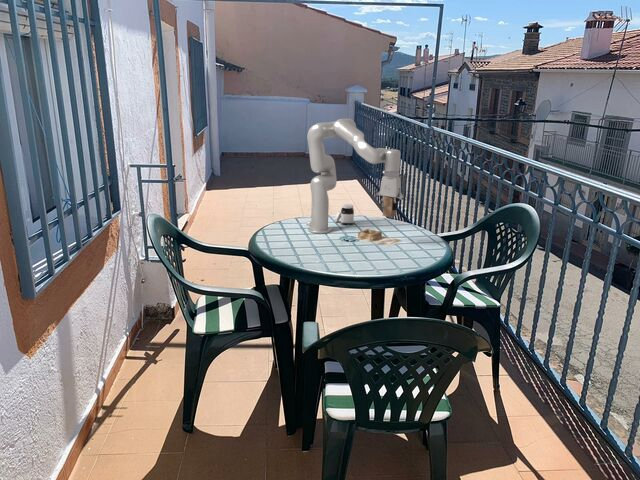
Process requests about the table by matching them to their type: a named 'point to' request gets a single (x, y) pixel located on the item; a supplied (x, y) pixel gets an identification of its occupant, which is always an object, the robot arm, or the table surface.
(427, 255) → the table surface
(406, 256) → the table surface
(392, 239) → the pocket board
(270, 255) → the table surface
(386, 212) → the walnut block
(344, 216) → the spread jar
